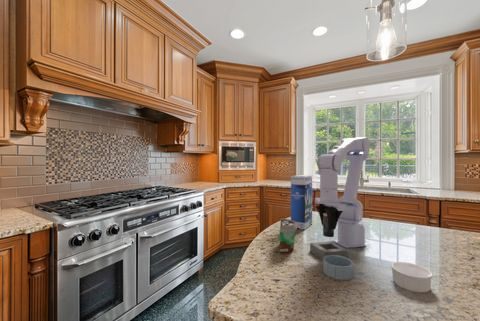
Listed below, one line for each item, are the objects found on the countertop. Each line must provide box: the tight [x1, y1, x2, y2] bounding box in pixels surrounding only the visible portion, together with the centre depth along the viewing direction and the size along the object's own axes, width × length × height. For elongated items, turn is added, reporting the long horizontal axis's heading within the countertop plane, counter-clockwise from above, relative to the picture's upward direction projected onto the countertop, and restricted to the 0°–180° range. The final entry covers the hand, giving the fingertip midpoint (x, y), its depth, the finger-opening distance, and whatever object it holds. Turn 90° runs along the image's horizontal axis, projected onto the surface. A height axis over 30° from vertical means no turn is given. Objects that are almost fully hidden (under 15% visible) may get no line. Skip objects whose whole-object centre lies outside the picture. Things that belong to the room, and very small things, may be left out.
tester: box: [309, 240, 349, 261], centre depth 80 cm, size 9×9×3 cm
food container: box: [279, 218, 298, 255], centre depth 86 cm, size 12×6×10 cm, turn 168°
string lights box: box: [290, 174, 313, 230], centre depth 117 cm, size 13×8×26 cm, turn 147°
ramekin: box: [390, 261, 433, 294], centre depth 61 cm, size 9×9×4 cm
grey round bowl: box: [322, 255, 355, 281], centre depth 68 cm, size 8×8×4 cm
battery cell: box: [322, 212, 335, 238], centre depth 80 cm, size 4×4×8 cm
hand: (328, 227), depth 80 cm, fingers closed on battery cell, 4 cm apart
